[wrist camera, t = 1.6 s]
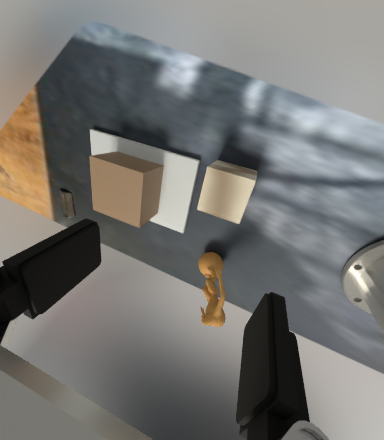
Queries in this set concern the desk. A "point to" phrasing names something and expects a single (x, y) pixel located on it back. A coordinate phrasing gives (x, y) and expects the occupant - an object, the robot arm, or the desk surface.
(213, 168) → the maple block
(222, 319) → the figurine
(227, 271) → the desk surface
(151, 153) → the build board
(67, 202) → the block
